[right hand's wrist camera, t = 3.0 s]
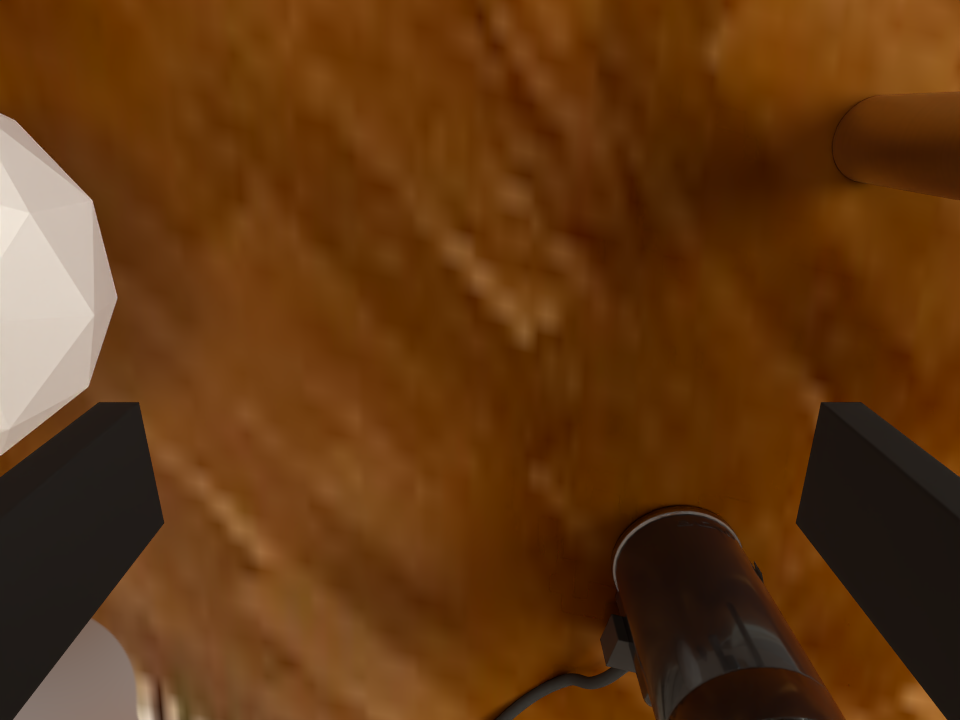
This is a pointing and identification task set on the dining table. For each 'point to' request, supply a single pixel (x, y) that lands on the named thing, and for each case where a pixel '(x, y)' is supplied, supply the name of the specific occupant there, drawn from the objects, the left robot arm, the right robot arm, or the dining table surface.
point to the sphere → (46, 286)
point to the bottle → (903, 143)
